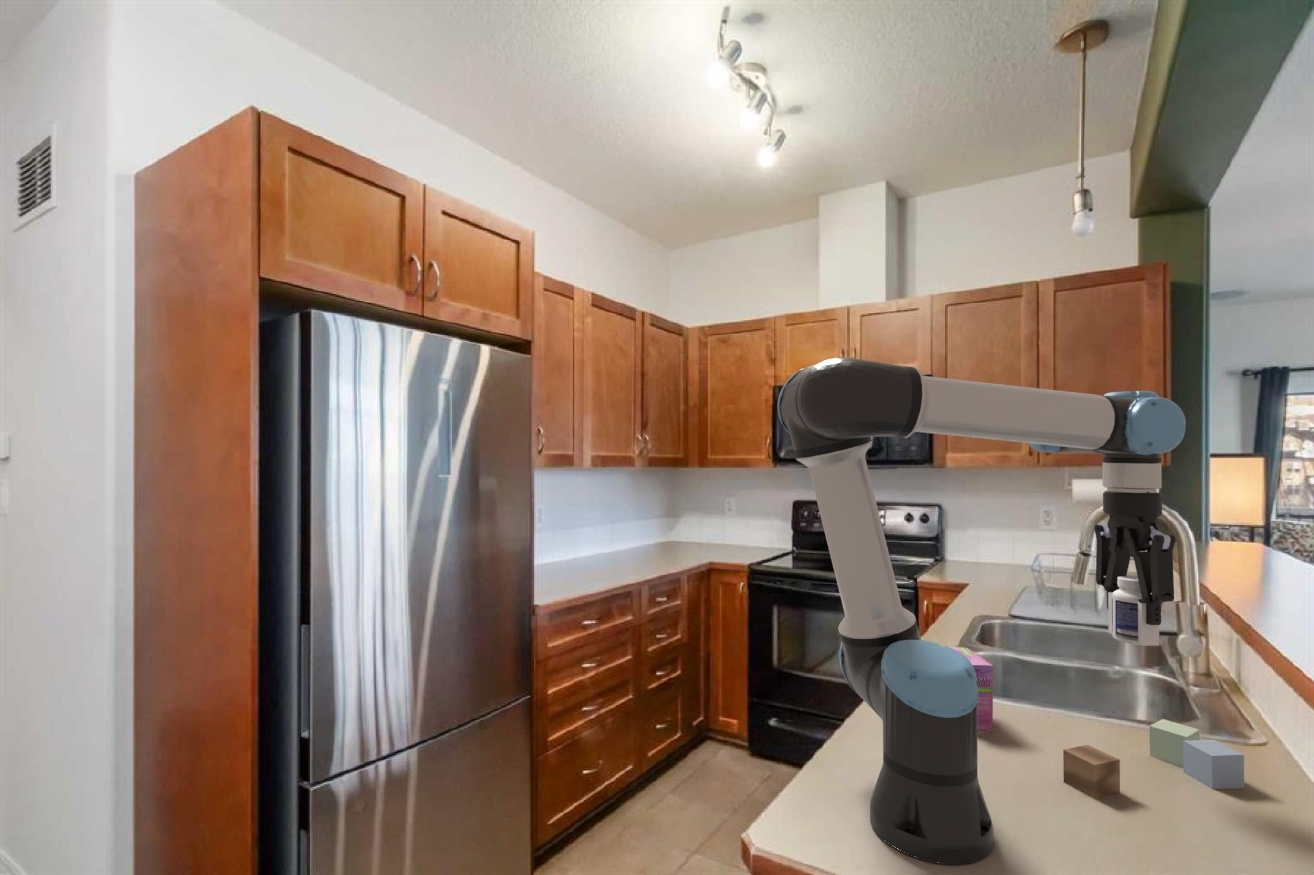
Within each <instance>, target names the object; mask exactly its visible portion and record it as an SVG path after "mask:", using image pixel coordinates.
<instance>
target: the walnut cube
mask: <svg viewBox="0 0 1314 875" xmlns="http://www.w3.org/2000/svg"><path fill="white" fill-rule="evenodd" d="M1062 750H1063V760H1062V762H1063V783H1064V784H1067V785H1068V786H1069V787H1072V788H1074V789H1075V790H1078V791H1079V792H1081V793H1083V794H1085V795H1086V796H1089V797H1090V798H1092V799H1093V800H1096V799H1100V798H1105V797H1106V798H1107V797H1109V796H1114V795H1118V794H1121V762H1120V761H1121V760H1120V758H1117V757H1115V756H1113V755H1111V754H1109V753H1106V752H1104V751H1103V750H1100V749H1098V748H1096V747H1094V746H1093V745H1092V746H1091V745H1089V744H1085V745H1079V746H1075V747H1069V748H1065V749H1062Z"/></svg>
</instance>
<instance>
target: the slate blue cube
mask: <svg viewBox="0 0 1314 875" xmlns="http://www.w3.org/2000/svg"><path fill="white" fill-rule="evenodd" d="M1182 768H1183V773H1184V774H1186V775H1187V776H1189V777H1191V778H1192V779H1194V780H1196V781H1198V782H1199V783H1201V784H1203V785H1205V786H1207V787H1208V788H1209V789H1211V790H1222V789H1223V790H1227V789H1245V755H1244V754H1243V753H1241V752H1239V751H1237V750H1235V749H1233V748H1231V747H1229V746H1227V745H1225V744H1223V743H1221V742H1219V741H1217V740H1215V739H1199V740H1188V741H1183V767H1182Z"/></svg>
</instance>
